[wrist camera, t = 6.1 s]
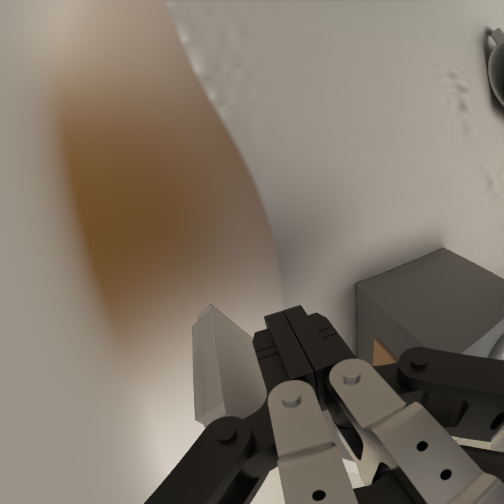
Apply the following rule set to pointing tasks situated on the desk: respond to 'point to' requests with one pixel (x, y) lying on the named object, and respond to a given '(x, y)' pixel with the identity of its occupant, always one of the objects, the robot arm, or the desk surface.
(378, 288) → the block
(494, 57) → the ceramic mug
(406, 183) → the desk surface
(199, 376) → the side door
